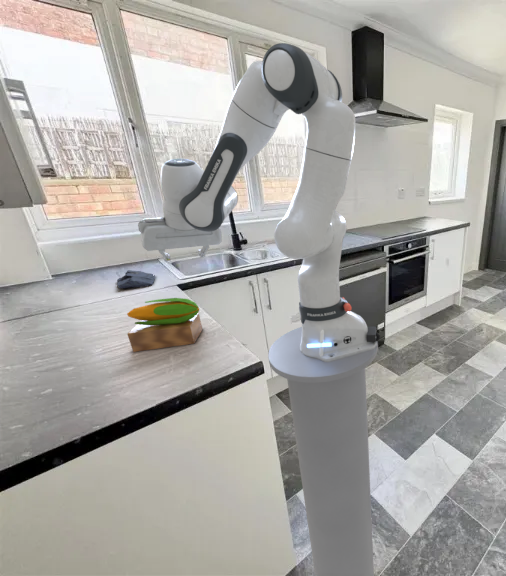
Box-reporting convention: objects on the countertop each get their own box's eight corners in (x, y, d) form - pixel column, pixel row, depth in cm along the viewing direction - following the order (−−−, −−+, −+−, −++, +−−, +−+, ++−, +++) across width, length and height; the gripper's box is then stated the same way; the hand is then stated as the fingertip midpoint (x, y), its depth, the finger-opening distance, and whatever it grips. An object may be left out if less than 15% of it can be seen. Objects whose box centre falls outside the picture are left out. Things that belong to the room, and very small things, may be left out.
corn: (190, 300, 90) (114, 305, 87) (195, 324, 92) (121, 330, 89) (200, 293, 97) (130, 298, 94) (204, 316, 99) (136, 321, 96)
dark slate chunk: (112, 292, 139) (109, 282, 138) (118, 280, 157) (116, 271, 155) (153, 285, 147) (151, 276, 146) (155, 275, 165) (153, 266, 163)
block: (202, 329, 103) (198, 312, 101) (194, 343, 94) (189, 325, 92) (147, 336, 99) (142, 319, 97) (133, 352, 90) (127, 333, 88)
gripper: (140, 224, 79) (146, 268, 87) (224, 220, 93) (223, 259, 100) (134, 213, 82) (140, 256, 90) (216, 211, 96) (216, 249, 104)
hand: (185, 257), depth 95 cm, fingers open, 8 cm apart
